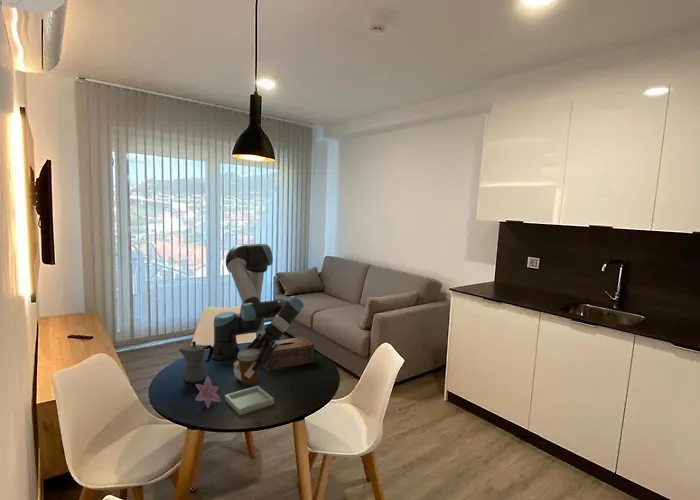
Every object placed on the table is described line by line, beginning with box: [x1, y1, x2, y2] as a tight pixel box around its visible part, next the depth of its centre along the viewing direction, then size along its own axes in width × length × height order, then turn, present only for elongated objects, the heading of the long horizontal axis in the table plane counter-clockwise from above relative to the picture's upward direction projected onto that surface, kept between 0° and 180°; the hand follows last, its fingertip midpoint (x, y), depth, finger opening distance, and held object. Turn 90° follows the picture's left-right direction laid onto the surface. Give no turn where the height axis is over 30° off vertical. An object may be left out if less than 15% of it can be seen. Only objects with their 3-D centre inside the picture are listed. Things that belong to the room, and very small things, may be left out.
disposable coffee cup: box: [236, 348, 260, 384], centre depth 162 cm, size 10×10×12 cm
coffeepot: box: [178, 341, 214, 383], centre depth 186 cm, size 15×9×18 cm, turn 110°
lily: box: [194, 375, 222, 409], centre depth 163 cm, size 12×12×10 cm
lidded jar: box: [233, 359, 242, 382], centre depth 187 cm, size 11×11×9 cm
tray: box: [224, 385, 275, 416], centre depth 164 cm, size 15×15×2 cm
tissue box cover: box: [259, 336, 315, 372], centre depth 209 cm, size 26×14×10 cm, turn 120°
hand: (241, 373), depth 161 cm, fingers closed on disposable coffee cup, 9 cm apart
